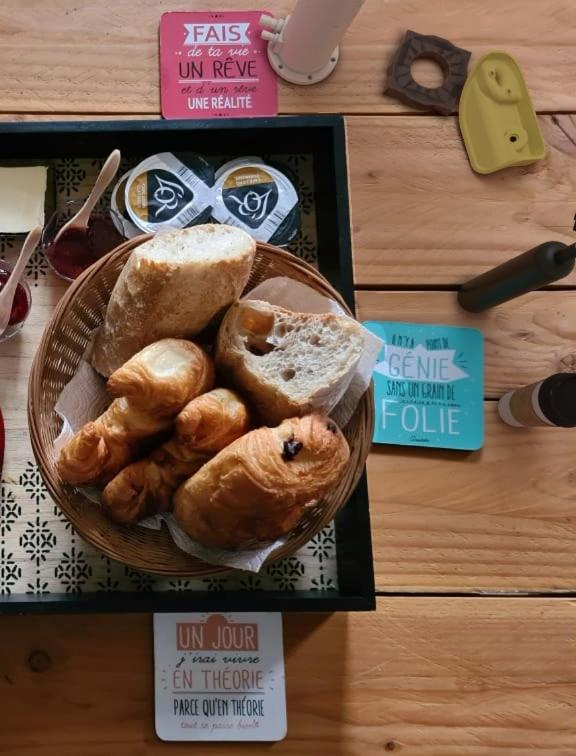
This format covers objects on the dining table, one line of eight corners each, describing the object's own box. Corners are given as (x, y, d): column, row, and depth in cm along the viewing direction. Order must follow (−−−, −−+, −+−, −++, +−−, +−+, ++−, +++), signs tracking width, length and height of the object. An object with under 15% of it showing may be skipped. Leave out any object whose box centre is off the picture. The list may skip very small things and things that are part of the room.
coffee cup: (550, 407, 122) (617, 396, 108) (519, 444, 121) (583, 438, 107) (510, 373, 123) (572, 358, 108) (479, 410, 122) (537, 399, 107)
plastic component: (549, 158, 126) (516, 160, 122) (507, 175, 133) (475, 178, 128) (517, 50, 128) (483, 48, 123) (477, 73, 134) (444, 72, 129)
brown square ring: (378, 95, 130) (383, 89, 128) (400, 31, 132) (405, 24, 130) (449, 121, 130) (455, 115, 128) (470, 56, 132) (476, 50, 130)
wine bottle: (451, 288, 125) (572, 226, 96) (480, 275, 126) (610, 210, 96) (466, 318, 125) (593, 266, 95) (496, 305, 125) (631, 249, 95)
